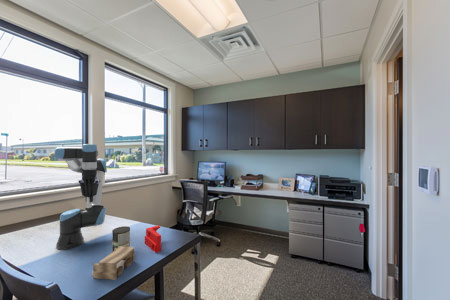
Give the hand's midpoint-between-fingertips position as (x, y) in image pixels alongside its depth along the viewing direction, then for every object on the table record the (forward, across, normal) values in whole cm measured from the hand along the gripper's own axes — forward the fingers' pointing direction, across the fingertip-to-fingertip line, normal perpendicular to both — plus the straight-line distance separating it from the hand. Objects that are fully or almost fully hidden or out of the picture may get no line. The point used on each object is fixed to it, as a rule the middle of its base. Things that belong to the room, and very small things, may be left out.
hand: (89, 207), depth 121 cm
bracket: (+31, +35, +19) cm, 50 cm away
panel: (+31, +22, -11) cm, 39 cm away
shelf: (+30, +24, -10) cm, 40 cm away
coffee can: (+31, +15, +9) cm, 35 cm away
